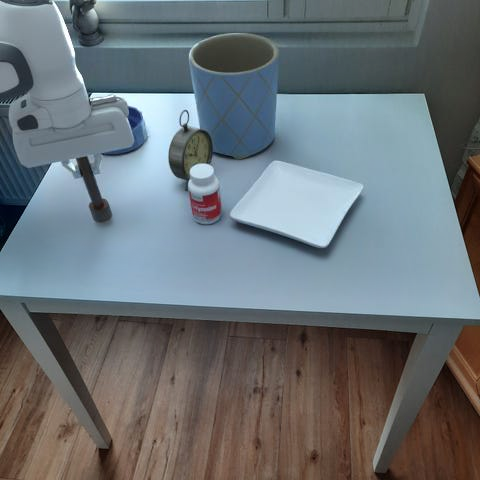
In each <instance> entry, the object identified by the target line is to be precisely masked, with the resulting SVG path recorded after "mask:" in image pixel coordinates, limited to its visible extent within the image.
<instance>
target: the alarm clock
mask: <svg viewBox="0 0 480 480" xmlns="http://www.w3.org/2000/svg"><path fill="white" fill-rule="evenodd" d="M185 112H186V114H187V120H186V123H183V124H182V116H183V115H184V113H185ZM189 121H190V113H189V111H188V110H187V109H184V110H182V111H181V113H180V115H179V121H178V122H179V126H180V127H181V128H179V129H178V130H177V131H176V132H175V134H174V135H173V137H172V139H171V141H170V143H169V148H168V158H167V159H168V165H169V168H170V171H171V173H172V174H173V175H174V176H175V177H176V178H177V179H181V180H183V181H185V188H184V191H185V192H189V190H188V182H189V180H190V169H191V168H192V167H193V166H195V165H197V164H209V165H211V164H212V161H213V157H214V156H213V155H214V151H213V144H212V139H211V137H210V135H209V133H208V132H207V131H206V130H204V129H200V127H196V126H190V125H188V124H189Z"/></svg>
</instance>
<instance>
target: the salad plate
mask: <svg viewBox="0 0 480 480" xmlns="http://www.w3.org/2000/svg"><path fill="white" fill-rule="evenodd" d="M363 190H364V184H362V183H360V182H357V181H354V180H351V179H348V178H344V177H341V176H337V175H333V174H330V173H326V172H322V171H320V170H319V171H318V170H315V169H311V168H308V167H304V166H300V165H296V164H294V163H289V162H286V161H281V160H272V161H271V162H270V164H269V165H267V167H266V168H265V169H264V171H263V172H262V173H261V174H260V175H259V177H257V179H256V181H255V182H254V183H253V184H252V185H251V187H250V188H249V189H248V190H247V191H246V193H245V194H244V195H243V196H242V197H241V199H239V200H238V202H237V203H236V204H235V206H234V207H233V208H231V210H230V213H229V217H230V218H231V219H232V220H234V221H235V222H237V223H240V224H243V225H248V226H252V227H255V228H258V229H261V230H264V231H268V232H271V233H275V234H278V235H281V236H283V237H287V238H288V239H293V240H295V241H298V242H300V243H304V244H306V245H308V246H312V247H315V248H318V249H324V248H327V247H328V246H329V245H330V243H331V242H332V240H333V238H334V236H335V235H336V233H337V231H338V229H339V227H340V225H341V223H342V222H343V220H344V218H345V217H346V215H347V213H348V212H349V211H350V209H351V207H352V206H353V205H354V203H355V202H356V201H357V199H358V198H359V196H360V195H361V194H362V192H363Z"/></svg>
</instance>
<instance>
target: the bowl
mask: <svg viewBox="0 0 480 480" xmlns="http://www.w3.org/2000/svg"><path fill="white" fill-rule="evenodd" d="M128 109H129V115H128V117H127V119H128V121H129V124H130V127H131V130H132V133H133V137H134V143H133V145H132V147H129V148H124V149H119V150H114V151H109V152H105V153H103V155H119V154H125V153H128V152H131V151H133V150H134V149H137V148H139V147H140V146H141V145H143V144H144V143H145V142H146V140H147V137H148V129H147V126H146V121H145V117H144V113H143V112H142V111H141V110H140V109H138V108H137V107H135V106H131V105H128Z"/></svg>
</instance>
